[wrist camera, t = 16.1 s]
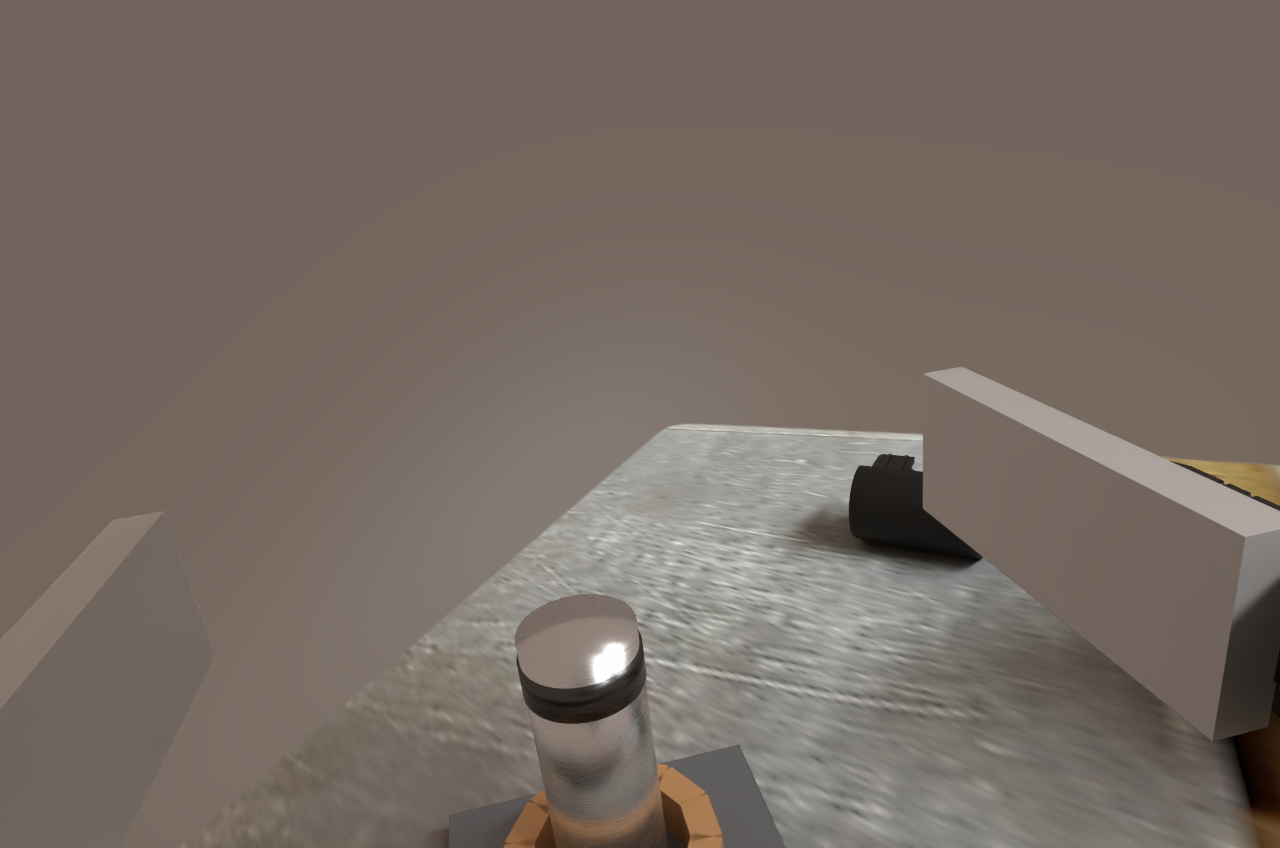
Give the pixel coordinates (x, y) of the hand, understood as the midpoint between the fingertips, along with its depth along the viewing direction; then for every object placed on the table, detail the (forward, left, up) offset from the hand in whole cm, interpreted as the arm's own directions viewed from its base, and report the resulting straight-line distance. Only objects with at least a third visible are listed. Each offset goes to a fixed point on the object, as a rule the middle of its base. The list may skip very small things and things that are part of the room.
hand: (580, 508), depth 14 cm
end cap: (-29, -40, -28) cm, 57 cm away
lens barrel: (0, -16, -27) cm, 31 cm away
